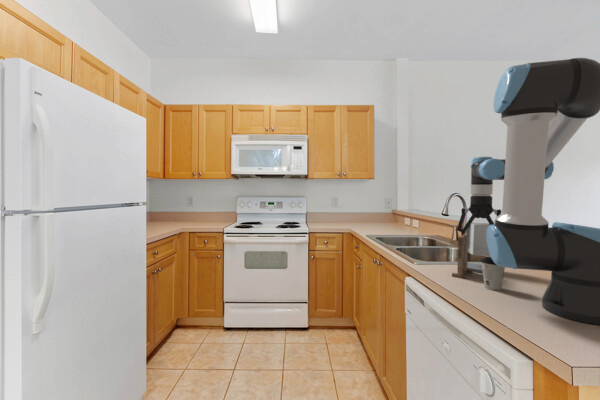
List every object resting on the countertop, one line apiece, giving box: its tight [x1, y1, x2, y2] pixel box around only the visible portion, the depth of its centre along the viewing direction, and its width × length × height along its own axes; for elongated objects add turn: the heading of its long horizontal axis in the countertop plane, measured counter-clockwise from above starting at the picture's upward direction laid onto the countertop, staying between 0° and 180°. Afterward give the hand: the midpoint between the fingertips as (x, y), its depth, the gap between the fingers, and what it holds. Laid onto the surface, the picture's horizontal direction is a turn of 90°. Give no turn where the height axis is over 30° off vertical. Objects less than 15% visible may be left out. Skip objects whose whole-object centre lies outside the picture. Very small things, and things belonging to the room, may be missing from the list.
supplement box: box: [467, 222, 491, 257], centre depth 118 cm, size 7×7×13 cm
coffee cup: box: [480, 256, 506, 292], centre depth 96 cm, size 7×7×10 cm
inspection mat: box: [467, 262, 483, 274], centre depth 119 cm, size 10×10×1 cm
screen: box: [451, 234, 474, 280], centre depth 112 cm, size 12×5×15 cm, turn 141°
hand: (479, 250), depth 119 cm, fingers closed on supplement box, 9 cm apart
